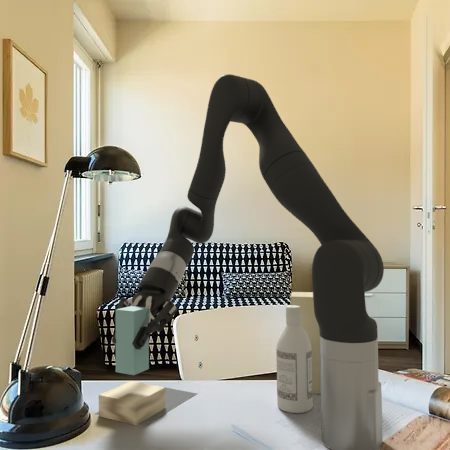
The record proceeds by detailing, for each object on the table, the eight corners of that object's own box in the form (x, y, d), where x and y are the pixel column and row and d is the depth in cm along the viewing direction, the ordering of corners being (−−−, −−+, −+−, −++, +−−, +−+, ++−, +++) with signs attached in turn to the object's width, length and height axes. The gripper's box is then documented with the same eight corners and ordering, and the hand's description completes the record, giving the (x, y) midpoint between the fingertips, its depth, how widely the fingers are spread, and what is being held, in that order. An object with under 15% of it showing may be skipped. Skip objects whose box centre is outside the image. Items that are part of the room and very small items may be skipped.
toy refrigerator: (325, 395, 91) (323, 296, 92) (291, 393, 93) (289, 296, 93) (324, 382, 99) (322, 292, 100) (292, 381, 100) (291, 291, 101)
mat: (197, 394, 92) (197, 393, 92) (143, 427, 76) (143, 426, 76) (153, 386, 98) (153, 385, 98) (94, 415, 82) (94, 413, 82)
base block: (165, 407, 84) (165, 387, 85) (135, 425, 77) (135, 402, 77) (130, 400, 89) (130, 380, 89) (98, 416, 81) (98, 394, 81)
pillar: (148, 368, 84) (148, 307, 84) (133, 375, 80) (133, 311, 80) (131, 365, 86) (131, 306, 86) (115, 371, 82) (115, 309, 82)
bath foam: (303, 399, 89) (301, 303, 90) (318, 412, 82) (316, 307, 83) (272, 402, 87) (270, 304, 88) (285, 416, 80) (283, 309, 81)
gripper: (129, 264, 94) (88, 330, 83) (183, 266, 87) (146, 338, 76) (145, 286, 98) (107, 351, 87) (197, 289, 91) (164, 360, 80)
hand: (125, 345), depth 81 cm, fingers closed on pillar, 4 cm apart
